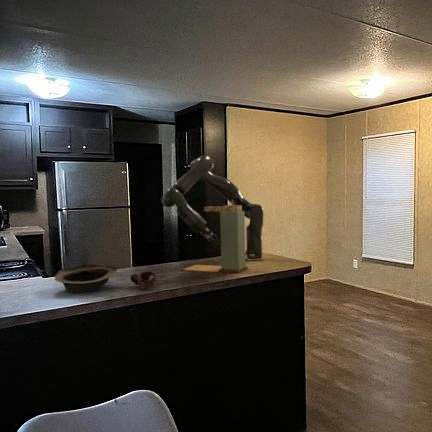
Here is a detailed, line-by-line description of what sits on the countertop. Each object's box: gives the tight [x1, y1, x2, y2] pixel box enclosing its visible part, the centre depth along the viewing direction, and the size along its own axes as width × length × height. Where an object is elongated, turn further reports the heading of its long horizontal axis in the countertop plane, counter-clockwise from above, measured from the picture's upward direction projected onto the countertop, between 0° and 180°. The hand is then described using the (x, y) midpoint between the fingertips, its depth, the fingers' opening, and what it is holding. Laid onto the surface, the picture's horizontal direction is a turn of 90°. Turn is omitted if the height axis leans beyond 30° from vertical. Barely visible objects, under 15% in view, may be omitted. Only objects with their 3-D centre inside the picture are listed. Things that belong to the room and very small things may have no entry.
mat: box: [181, 264, 221, 274], centre depth 236 cm, size 20×14×1 cm
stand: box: [218, 211, 249, 274], centre depth 230 cm, size 11×11×31 cm
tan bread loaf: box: [203, 200, 242, 212], centre depth 230 cm, size 20×6×6 cm, turn 70°
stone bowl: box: [54, 263, 117, 294], centre depth 193 cm, size 25×25×9 cm
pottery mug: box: [129, 270, 158, 291], centre depth 195 cm, size 12×10×8 cm
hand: (218, 244), depth 219 cm, fingers open, 8 cm apart
